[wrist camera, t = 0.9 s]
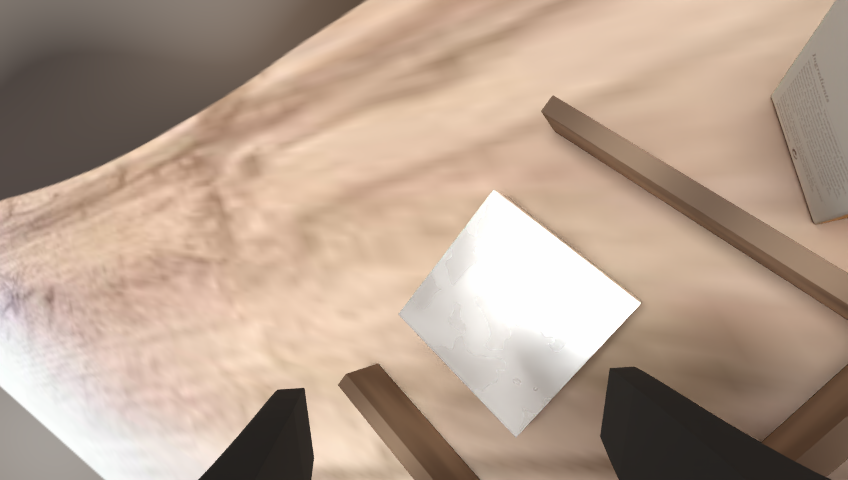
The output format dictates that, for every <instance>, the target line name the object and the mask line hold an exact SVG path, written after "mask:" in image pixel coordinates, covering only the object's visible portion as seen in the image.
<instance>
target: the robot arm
mask: <svg viewBox="0 0 848 480" xmlns="http://www.w3.org/2000/svg"><path fill="white" fill-rule="evenodd" d="M600 437H601V440H602V442H603V444H604V447H605V449H606V452H607V454H608V456H609V459H610V461H611V463H612V466H613V468H614V470H615V472H616V474H617V477H618V479H619V480H831V479H829V478H827V477H825V476H823V475H821V474H819V473H817V472H815V471H813V470H811V469H809V468H807V467H805V466H803V465H801V464H799V463H797V462H795V461H793V460H791V459H790V458H788V457H786V456H784V455H782V454H781V453H779V452H777V451H775V450H773V449H772V448H770V447H768V446H766V445H764V444H763V443H761V442H759V441H757V440H756V439H754V438H752V437H750V436H749V435H747V434H745V433H743V432H742V431H740V430H738V429H737V428H735V427H733V426H732V425H730V424H728V423H727V422H725V421H723V420H722V419H720V418H718V417H717V416H715V415H713V414H712V413H710V412H708V411H707V410H705V409H704V408H702V407H700V406H699V405H697V404H696V403H694V402H692V401H691V400H689V399H688V398H686V397H684V396H683V395H681V394H680V393H678V392H676V391H675V390H673V389H672V388H670V387H668V386H667V385H665V384H663V383H662V382H660V381H659V380H657V379H655V378H654V377H652V376H650V375H649V374H647V373H645V372H643V371H642V370H640V369H638V368H636V367H623V368H610V371H609V378H608V385H607V392H606V399H605V406H604V414H603V421H602V428H601V435H600ZM313 461H314V455H313V447H312V440H311V433H310V425H309V418H308V411H307V403H306V396H305V389H304V388H296V389H281V390H277V391H276V392H275V393H274V394H273V395H272V396H271V397H270V398H269V400H268V401H267V402H266V403H265V404H264V406H263V407H262V408H261V409H260V410H259V412H258V413H257V414H256V415H255V417H254V418H253V419H252V420H251V421H250V422H249V424H248V425H247V426H246V427H245V428H244V430H243V431H242V432H241V433H240V434H239V435H238V437H237V438H236V439H235V440H234V441H233V442H232V443H231V444H230V446H229V447H228V448H227V449H226V450H225V451H224V452H223V454H222V455H221V456H220V457H219V458H218V459H217V460H216V461H215V463H214V464H213V465H212V466H211V467H210V468H209V469H208V470H207V471H206V472H205V473H204V474H203V475H202V476H201V477H200V478H199V479H198V480H311V477H312V469H313Z"/></svg>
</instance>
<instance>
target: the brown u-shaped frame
mask: <svg viewBox="0 0 848 480" xmlns="http://www.w3.org/2000/svg"><path fill="white" fill-rule="evenodd" d="M541 112H542V113H543V115H544V116H545V118H546V119H547V121H548V122H549V124H550V125H551V127H552V128H553V130H554V131H555V132H557V133H558V134H560V135H561V136H563V137H564V138H566V139H568V140H569V141H571V142H572V143H574V144H575V145H577V146H578V147H580V148H582V149H583V150H585V151H586V152H588V153H589V154H591V155H592V156H594V157H596V158H597V159H599V160H600V161H602V162H603V163H605V164H606V165H608V166H610V167H611V168H613V169H614V170H616V171H617V172H619V173H620V174H622V175H624V176H625V177H627V178H628V179H630V180H631V181H633V182H634V183H636V184H638V185H639V186H641V187H642V188H644V189H645V190H647V191H648V192H650V193H652V194H653V195H655V196H656V197H658V198H659V199H661V200H662V201H664V202H666V203H667V204H669V205H670V206H672V207H673V208H675V209H676V210H678V211H680V212H681V213H683V214H684V215H686V216H687V217H689V218H690V219H692V220H693V221H695V222H697V223H698V224H700V225H701V226H703V227H704V228H706V229H707V230H709V231H711V232H712V233H714V234H715V235H717V236H718V237H720V238H721V239H723V240H725V241H726V242H728V243H729V244H731V245H732V246H734V247H735V248H737V249H739V250H740V251H742V252H743V253H745V254H746V255H748V256H749V257H751V258H753V259H754V260H756V261H757V262H759V263H760V264H762V265H763V266H765V267H767V268H768V269H770V270H771V271H773V272H774V273H776V274H777V275H779V276H781V277H782V278H784V279H785V280H787V281H788V282H790V283H791V284H793V285H795V286H796V287H798V288H799V289H801V290H802V291H804V292H805V293H807V294H809V295H810V296H812V297H813V298H815V299H816V300H818V301H819V302H821V303H823V304H824V305H826V306H827V307H829V308H830V309H832V310H833V311H835V312H836V313H838V314H840V315H841V316H843V317H844V318H846V319H847V320H848V273H847V272H845V271H843V270H842V269H840V268H838V267H837V266H835V265H833V264H832V263H830V262H828V261H827V260H825V259H823V258H822V257H820V256H818V255H817V254H815V253H813V252H812V251H810V250H808V249H807V248H805V247H804V246H802V245H800V244H799V243H797V242H795V241H794V240H792V239H790V238H789V237H787V236H785V235H784V234H782V233H780V232H779V231H777V230H775V229H774V228H772V227H770V226H769V225H767V224H765V223H764V222H762V221H760V220H759V219H757V218H755V217H754V216H752V215H750V214H749V213H747V212H746V211H744V210H742V209H741V208H739V207H737V206H736V205H734V204H732V203H731V202H729V201H727V200H726V199H724V198H722V197H721V196H719V195H717V194H716V193H714V192H712V191H711V190H709V189H707V188H706V187H704V186H702V185H701V184H699V183H697V182H696V181H694V180H693V179H691V178H689V177H688V176H686V175H684V174H683V173H681V172H679V171H678V170H676V169H674V168H673V167H671V166H669V165H668V164H666V163H664V162H663V161H661V160H659V159H658V158H656V157H654V156H653V155H651V154H649V153H648V152H646V151H644V150H643V149H641V148H639V147H638V146H636V145H635V144H633V143H631V142H630V141H628V140H626V139H625V138H623V137H621V136H620V135H618V134H616V133H615V132H613V131H611V130H610V129H608V128H606V127H605V126H603V125H601V124H600V123H598V122H596V121H595V120H593V119H591V118H590V117H588V116H586V115H585V114H583V113H581V112H580V111H578V110H577V109H575V108H573V107H572V106H570V105H568V104H567V103H565V102H563V101H562V100H560V99H558V98H557V97H555V96H552V97H551V98H550V100H549V101H548V103H547V104H546V105H545V107H544V108H543V109H542V111H541ZM338 386H339V387H340V388H341V389H342V391H343V392H344V393H345V394H346V396H347V397H348V398H349V399H350V401H351V402H352V403H353V404H354V405H355V407H356V408H357V409H358V410H359V412H360V413H361V414H362V415H363V417H364V418H365V419H366V420H367V422H368V423H369V424H370V425H371V427H372V428H373V429H374V430H375V432H376V433H377V434H378V435H379V437H380V438H381V439H382V440H383V441H384V443H385V444H386V445H387V446H388V448H389V449H390V450H391V451H392V453H393V454H394V455H395V456H396V458H397V459H398V460H399V461H400V463H401V464H402V465H403V466H404V468H405V469H406V470H407V471H408V472H409V474H410V475H411V476H412V477H413V479H414V480H479V478H478V477H477V476H476V475H475V474H474V473H473V472H472V470H471V469H470V468H469V467H468V466H467V465H466V464H465V462H464V461H463V460H462V459H461V458H460V457H459V456H458V454H457V453H456V452H455V451H454V450H453V449H452V448H451V446H450V445H449V444H448V443H447V442H446V441H445V440H444V439H443V437H442V436H441V435H440V434H439V433H438V432H437V431H436V429H435V428H434V427H433V426H432V425H431V424H430V423H429V421H428V420H427V419H426V418H425V417H424V416H423V415H422V413H421V412H420V411H419V410H418V409H417V408H416V407H415V405H414V404H413V403H412V402H411V401H410V400H409V399H408V397H407V396H406V395H405V394H404V393H403V392H402V391H401V390H400V388H399V387H398V386H397V385H396V384H395V383H394V382H393V380H392V379H391V378H390V377H389V376H388V375H387V374H386V372H385V371H384V370H383V369H382V368H381V367H380V366H379V364H376V365H372V366H369V367H366V368H363V369H360V370H357V371H354V372H351V373H348V374H346V375H345V376H344V377H343V379H342V380H341V382H340V383H339V384H338ZM761 443H763V444H764V445H766V446H768V447H770V448H772V449H773V450H775V451H777V452H779V453H781V454H782V455H784V456H786V457H788V458H790V459H791V460H793V461H795V462H797V463H799V464H801V465H803V466H805V467H807V468H809V469H811V470H813V471H815V472H817V473H819V474H821V475H823V476H825V477H827V476H828V475H829V474H830V473H831V472H833V471H834V470H835V469H836V468H837V467H839V466H840V465H841V464H842V463H843V462H845V461H846V460H847V459H848V365H847V366H846V367H845V368H843V369H842V370H841V371H840V372H839V373H838V374H837V375H836V376H835V377H833V378H832V379H831V380H830V381H829V382H828V383H827V384H826V385H825V386H823V387H822V388H821V389H820V390H819V391H818V392H817V393H816V394H815V395H814V396H812V397H811V398H810V399H809V400H808V401H807V402H806V403H805V404H804V405H802V406H801V407H800V408H799V409H798V410H797V411H796V412H795V413H794V414H792V415H791V416H790V417H789V418H788V419H787V420H786V421H785V422H784V423H783V424H781V425H780V426H779V427H778V428H777V429H776V430H775V431H774V432H773V433H771V434H770V435H769V436H768V437H767V438H766V439H765V440H764V441H763V442H761Z"/></svg>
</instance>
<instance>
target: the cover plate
mask: <svg viewBox="0 0 848 480" xmlns="http://www.w3.org/2000/svg"><path fill="white" fill-rule="evenodd" d="M640 303H641V300H639V299H638V298H637V297H635V296H634V295H633V294H632V293H630V292H629V291H628V290H626V289H625V288H624V287H622V286H621V285H620V284H619V283H617V282H616V281H615V280H613V279H612V278H611V277H610V276H608V275H607V274H606V273H604V272H603V271H602V270H601V269H599V268H598V267H597V266H595V265H594V264H593V263H591V262H590V261H589V260H588V259H586V258H585V257H584V256H582V255H581V254H580V253H579V252H577V251H576V250H575V249H573V248H572V247H571V246H569V245H568V244H567V243H566V242H564V241H563V240H562V239H560V238H559V237H558V236H557V235H555V234H554V233H553V232H551V231H550V230H549V229H548V228H546V227H545V226H544V225H542V224H541V223H540V222H538V221H537V220H536V219H535V218H533V217H532V216H531V215H529V214H528V213H527V212H526V211H524V210H523V209H522V208H520V207H519V206H518V205H517V204H515V203H514V202H513V201H511V200H510V199H509V198H507V197H506V196H504V195H503V194H501V193H499V192H497V191H496V190H493V191H492V192H491V194H490V195H489V196H488V198H487V199H486V200H485V202H484V203H483V204H482V206H481V207H480V208H479V209H478V211H477V212H476V213H475V215H474V216H473V217H472V219H471V220H470V221H469V223H468V224H467V225H466V226H465V228H464V229H463V230H462V232H461V233H460V234H459V236H458V237H457V238H456V240H455V241H454V242H453V243H452V245H451V246H450V247H449V249H448V250H447V251H446V253H445V254H444V255H443V257H442V258H441V259H440V260H439V262H438V263H437V264H436V266H435V267H434V268H433V270H432V271H431V272H430V274H429V275H428V276H427V278H426V279H425V280H424V281H423V283H422V284H421V285H420V287H419V288H418V289H417V291H416V292H415V293H414V295H413V296H412V297H411V298H410V300H409V301H408V302H407V304H406V305H405V306H404V308H403V309H402V310H401V312H400V313H399V315H400V317H401V318H402V319H403V320H404V321H405V322H406V323H407V324H408V325H409V326H410V327H411V328H412V329H413V330H414V331H415V332H416V333H417V334H418V335H419V336H420V338H421V339H422V340H423V341H424V342H425V343H426V344H427V345H428V346H429V347H430V348H431V349H432V350H433V351H434V352H435V353H436V354H437V355H438V356H439V357H440V359H441V360H442V361H443V362H444V363H445V364H446V365H447V366H448V367H449V368H450V369H451V370H452V371H453V372H454V373H455V374H456V375H457V376H458V377H459V378H460V379H461V381H462V382H463V383H464V384H465V385H466V386H467V387H468V388H469V389H470V390H471V391H472V392H473V393H474V394H475V395H476V396H477V397H478V398H479V399H480V400H481V402H482V403H483V404H484V405H485V406H486V407H487V408H488V409H489V410H490V411H491V412H492V413H493V414H494V415H495V416H496V417H497V418H498V419H499V420H500V421H501V422H502V424H503V425H504V426H505V427H506V428H507V429H508V430H509V431H510V432H511V433H512V434H513V435H514V436H515V437H517V436H518V435H519V434H520V433H521V432H522V431H523V429H524V428H525V427H526V426H527V425H528V424H529V423H530V422H531V421H532V420H533V419H534V418H535V417H536V415H537V414H538V413H539V412H540V411H541V410H542V409H543V408H544V407H545V406H546V405H547V404H548V403H549V401H550V400H551V399H552V398H553V397H554V396H555V395H556V394H557V393H558V392H559V391H560V390H561V389H562V387H563V386H564V385H565V384H566V383H567V382H568V381H569V380H570V379H571V378H572V377H573V376H574V375H575V373H576V372H577V371H578V370H579V369H580V368H581V367H582V366H583V365H584V364H585V363H586V362H587V361H588V359H589V358H590V357H591V356H592V355H593V354H594V353H595V352H596V351H597V350H598V349H599V348H600V347H601V345H602V344H603V343H604V342H605V341H606V340H607V339H608V338H609V337H610V336H611V335H612V334H613V333H614V331H615V330H616V329H617V328H618V327H619V326H620V325H621V324H622V323H623V322H624V321H625V320H626V319H627V317H628V316H629V315H630V314H631V313H632V312H633V311H634V310H635V309H636V308H637V307H638V306H639V305H640Z"/></svg>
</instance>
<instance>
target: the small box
mask: <svg viewBox="0 0 848 480" xmlns="http://www.w3.org/2000/svg"><path fill="white" fill-rule="evenodd" d="M771 97H772V100H773V103H774V106H775V108H776V111H777V115H778V118H779V121H780V124H781V127H782V130H783V133H784V136H785V139H786V142H787V145H788V148H789V151H790V154H791V157H792V160H793V163H794V166H795V169H796V172H797V175H798V178H799V181H800V183H801V186H802V189H803V192H804V195H805V198H806V202H807V204H808V207H809V210H810V213H811V216H812V220H813V222H814V223H815V224H822V223H826V222H830V221H835V220H840V219H844V218H848V0H836V1H835V2H834V4H833V5H832V6H831V8H830V10H829V11H828V13H827V14H826V15H825V17H824V18H823V20H822V21H821V23H820V24H819V26H818V27H817V29H816V30H815V32H814V33H813V35H812V36H811V38H810V39H809V41H808V42H807V44H806V45H805V46H804V48H803V49H802V51H801V52H800V54H799V55H798V57H797V58H796V60H795V61H794V63H793V64H792V66H791V67H790V68H789V70H788V71H787V73H786V74H785V76H784V77H783V79H782V80H781V82H780V83H779V84H778V86H777V88H776V89H775V90H774V92H773V94H772V95H771Z"/></svg>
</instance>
